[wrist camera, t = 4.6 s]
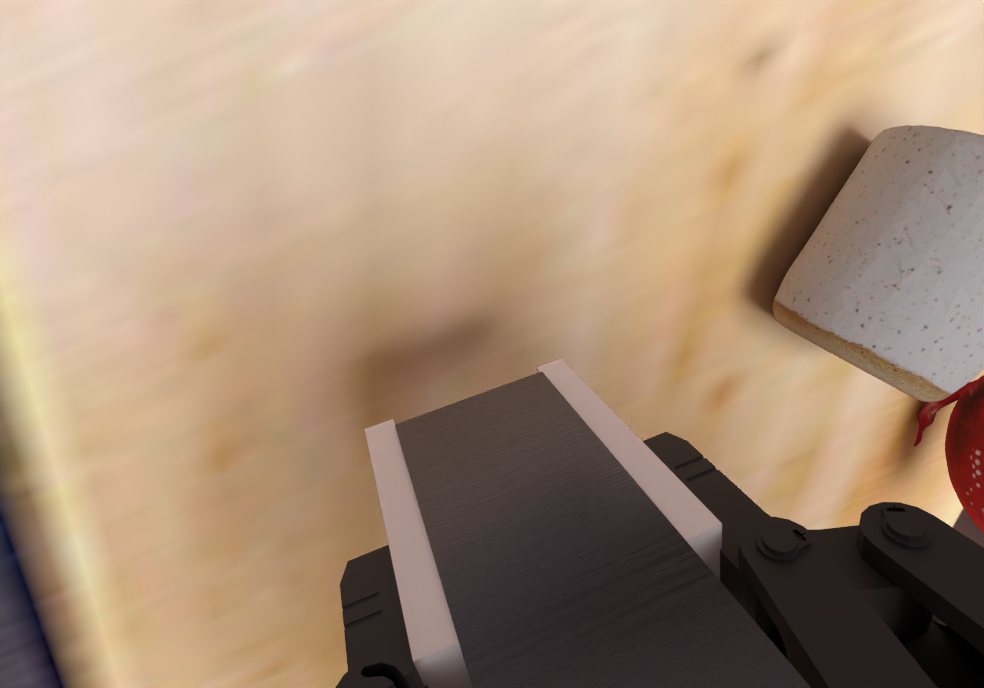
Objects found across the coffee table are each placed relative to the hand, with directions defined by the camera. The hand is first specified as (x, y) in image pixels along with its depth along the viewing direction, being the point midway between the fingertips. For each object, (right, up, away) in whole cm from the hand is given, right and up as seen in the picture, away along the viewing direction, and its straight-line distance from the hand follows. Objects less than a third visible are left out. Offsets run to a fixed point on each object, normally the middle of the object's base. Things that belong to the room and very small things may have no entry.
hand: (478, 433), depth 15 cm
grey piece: (+2, -7, +4) cm, 8 cm away
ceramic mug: (+16, +7, +10) cm, 20 cm away
